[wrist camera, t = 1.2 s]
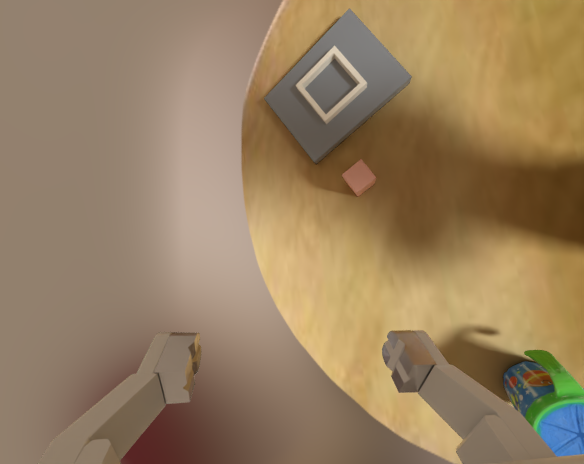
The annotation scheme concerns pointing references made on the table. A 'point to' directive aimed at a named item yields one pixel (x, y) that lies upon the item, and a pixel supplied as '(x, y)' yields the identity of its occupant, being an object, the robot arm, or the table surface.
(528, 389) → the snack cup
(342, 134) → the base board
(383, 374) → the table surface
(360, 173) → the pillar
